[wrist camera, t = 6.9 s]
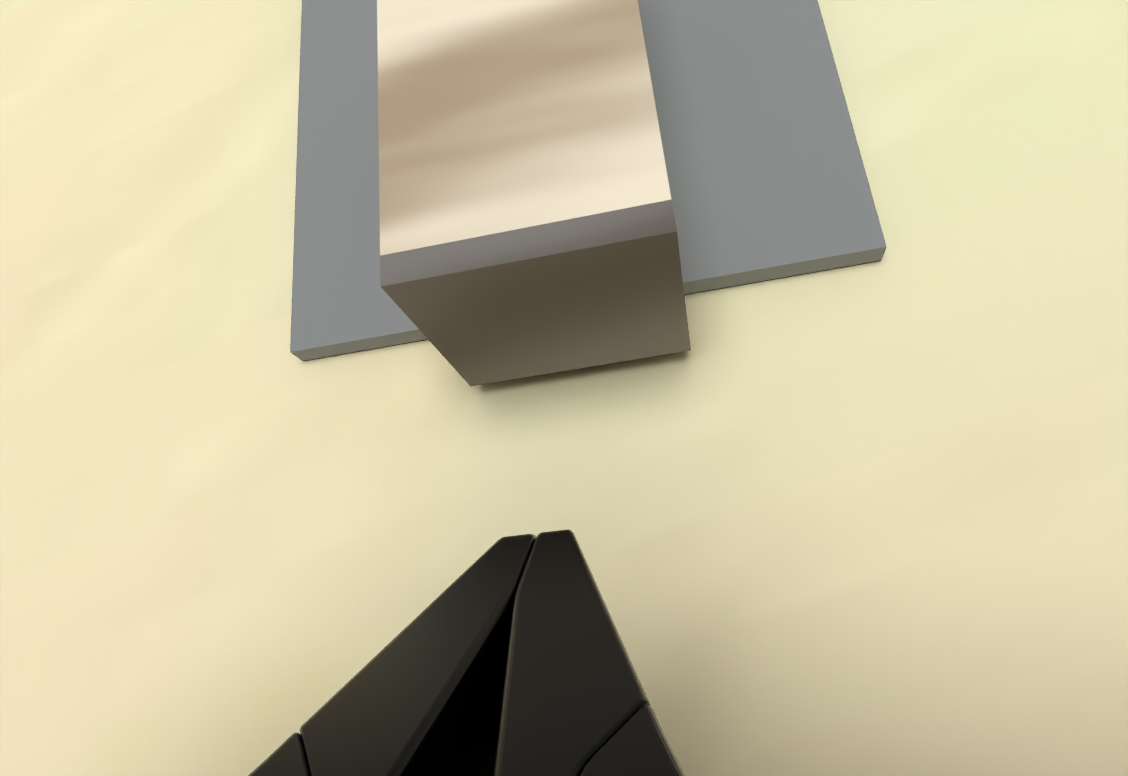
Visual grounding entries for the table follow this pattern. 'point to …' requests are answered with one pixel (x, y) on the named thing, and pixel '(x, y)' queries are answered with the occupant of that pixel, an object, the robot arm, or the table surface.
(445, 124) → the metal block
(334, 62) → the mat
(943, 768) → the table surface
